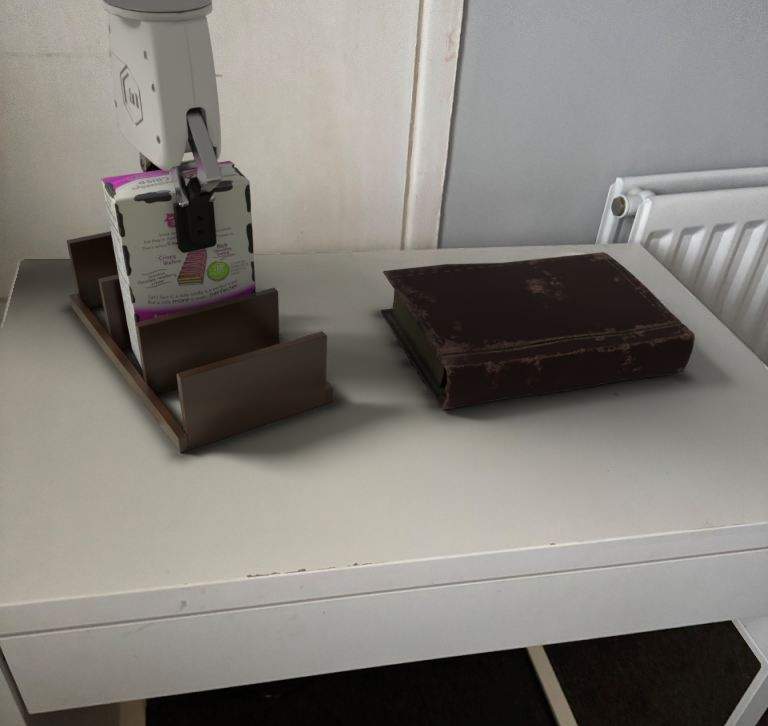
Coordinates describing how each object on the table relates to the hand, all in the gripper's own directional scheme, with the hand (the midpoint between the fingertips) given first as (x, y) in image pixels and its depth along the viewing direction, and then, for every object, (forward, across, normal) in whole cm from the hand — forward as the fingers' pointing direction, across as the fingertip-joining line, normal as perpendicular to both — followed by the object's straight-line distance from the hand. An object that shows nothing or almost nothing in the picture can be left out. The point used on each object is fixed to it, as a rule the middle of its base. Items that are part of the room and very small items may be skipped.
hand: (182, 231), depth 70 cm
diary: (+12, +14, +29) cm, 35 cm away
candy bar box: (+12, 0, 0) cm, 12 cm away
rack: (+12, 0, 0) cm, 12 cm away
